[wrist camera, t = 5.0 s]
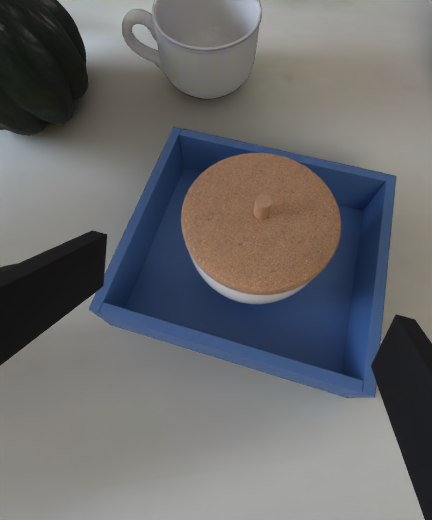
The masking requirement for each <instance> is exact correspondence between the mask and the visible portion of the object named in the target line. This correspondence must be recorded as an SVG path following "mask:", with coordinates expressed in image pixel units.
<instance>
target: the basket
mask: <svg viewBox="0 0 432 520" xmlns="http://www.w3.org/2000/svg"><path fill="white" fill-rule="evenodd" d="M247 153H268V154H275V155H279V156H283V157H287V158H289V159H292V160H294V161H296V162H298V163H300V164H302V165H304V166H306V167H307V168H309V169H310V170H311V171H313V172H314V173H315V174H316V175H317V176H318V177H320V178H321V179H322V180H323V181H324V183H325V184H326V185H327V187H328V188H329V189H330V191H331V192H332V194H333V196H334V198H335V200H336V202H337V205H338V208H339V211H340V217H341V235H340V239H339V244H338V246H337V249H336V251H335V253H334V255H333V257H332V258H331V260H330V261H329V263H328V264H327V265H326V267H325V268H324V269H323V270H322V271H321V272H320V273H319V274H318V275H317V276H316V277H315V278H313V279H312V280H311V281H310V282H309V283H308V284H307V285H306V286H305V287H303V288H302V289H301V290H299V291H298V292H296V293H295V294H293V295H291V296H289V297H287V298H285V299H283V300H279V301H276V302H273V303H267V304H246V303H240V302H237V301H234V300H231V299H229V298H227V297H225V296H223V295H221V294H220V293H218V292H217V291H216V290H214V289H213V288H212V287H211V286H210V285H209V284H208V283H207V282H206V281H205V280H204V279H203V278H202V276H201V275H200V274H199V272H198V271H197V269H196V267H195V265H194V263H193V261H192V259H191V257H190V253H189V251H188V249H187V247H186V244H185V240H184V237H183V233H182V226H181V212H182V206H183V202H184V199H185V196H186V194H187V192H188V190H189V188H190V187H191V185H192V184H193V182H194V181H195V180H196V179H197V178H198V177H199V176H200V175H201V174H202V173H203V172H204V171H205V170H207V169H208V168H209V167H210V166H212V165H214V164H216V163H217V162H219V161H221V160H224V159H226V158H229V157H232V156H236V155H240V154H247ZM395 184H396V176H394V175H390V174H385V173H381V172H376V171H372V170H367V169H363V168H358V167H354V166H349V165H345V164H340V163H336V162H331V161H326V160H322V159H317V158H313V157H308V156H304V155H299V154H295V153H290V152H286V151H281V150H277V149H272V148H268V147H263V146H259V145H254V144H250V143H245V142H241V141H236V140H231V139H227V138H222V137H218V136H213V135H209V134H204V133H200V132H195V131H191V130H186V129H181V128H176V127H173V129H172V131H171V134H170V136H169V138H168V140H167V142H166V144H165V146H164V149H163V151H162V153H161V155H160V157H159V159H158V161H157V164H156V166H155V168H154V170H153V172H152V174H151V176H150V179H149V181H148V183H147V185H146V187H145V189H144V191H143V194H142V196H141V198H140V200H139V202H138V204H137V206H136V209H135V211H134V213H133V215H132V217H131V219H130V221H129V224H128V226H127V228H126V230H125V232H124V234H123V237H122V239H121V241H120V243H119V245H118V247H117V249H116V252H115V254H114V256H113V258H112V260H111V262H110V264H109V267H108V269H107V271H106V273H105V275H104V285H103V287H102V288H100V289H99V290H98V291H97V292H96V294H95V297H94V299H93V301H92V303H91V305H90V307H89V310H90V311H91V312H93V313H94V314H96V315H97V316H99V317H100V318H102V319H103V320H105V321H106V322H108V323H109V324H110V325H114V326H117V327H120V328H123V329H126V330H130V331H133V332H136V333H139V334H143V335H146V336H149V337H152V338H156V339H159V340H162V341H165V342H168V343H172V344H175V345H178V346H181V347H185V348H188V349H191V350H194V351H197V352H201V353H204V354H207V355H210V356H214V357H217V358H220V359H223V360H227V361H230V362H233V363H236V364H239V365H243V366H246V367H249V368H252V369H256V370H259V371H262V372H265V373H269V374H272V375H275V376H278V377H281V378H285V379H288V380H291V381H294V382H298V383H301V384H304V385H307V386H310V387H314V388H317V389H320V390H323V391H327V392H330V393H333V394H336V395H340V396H343V397H346V398H361V397H375V394H376V383H377V382H376V380H375V377H374V374H373V371H372V368H371V364H372V362H373V360H374V358H375V356H376V354H377V352H378V350H379V348H380V341H381V331H382V320H383V310H384V299H385V289H386V278H387V268H388V257H389V247H390V236H391V226H392V215H393V205H394V194H395Z"/></svg>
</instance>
